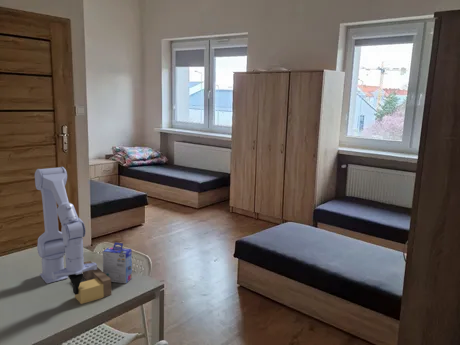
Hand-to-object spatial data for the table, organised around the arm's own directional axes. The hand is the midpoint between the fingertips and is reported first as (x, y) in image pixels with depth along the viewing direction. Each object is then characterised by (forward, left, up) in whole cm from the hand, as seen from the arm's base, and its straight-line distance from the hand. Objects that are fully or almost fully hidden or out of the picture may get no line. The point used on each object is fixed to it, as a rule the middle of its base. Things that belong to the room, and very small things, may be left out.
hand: (76, 293), depth 140 cm
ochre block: (0, +5, -3) cm, 5 cm away
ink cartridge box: (-7, +19, -3) cm, 20 cm away
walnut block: (-7, +10, -3) cm, 13 cm away
